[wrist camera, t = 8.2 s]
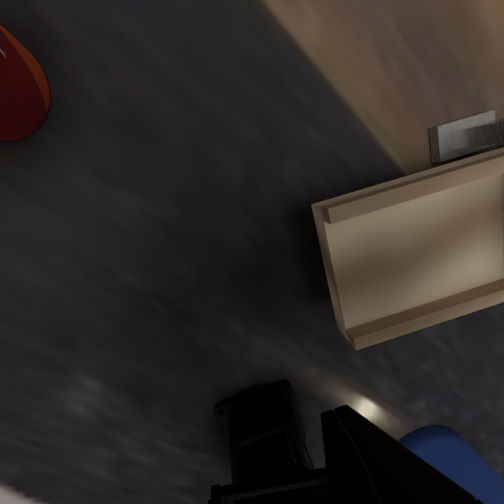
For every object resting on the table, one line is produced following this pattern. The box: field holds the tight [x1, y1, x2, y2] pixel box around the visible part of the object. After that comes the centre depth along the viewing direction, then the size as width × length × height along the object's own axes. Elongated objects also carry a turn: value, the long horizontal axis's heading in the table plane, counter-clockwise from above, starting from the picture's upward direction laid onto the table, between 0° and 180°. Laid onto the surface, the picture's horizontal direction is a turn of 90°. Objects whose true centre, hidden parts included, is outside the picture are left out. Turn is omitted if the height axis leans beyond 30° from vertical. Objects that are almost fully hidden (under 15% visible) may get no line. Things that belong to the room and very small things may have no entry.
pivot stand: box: [429, 110, 504, 163], centre depth 19 cm, size 13×4×5 cm, turn 16°
